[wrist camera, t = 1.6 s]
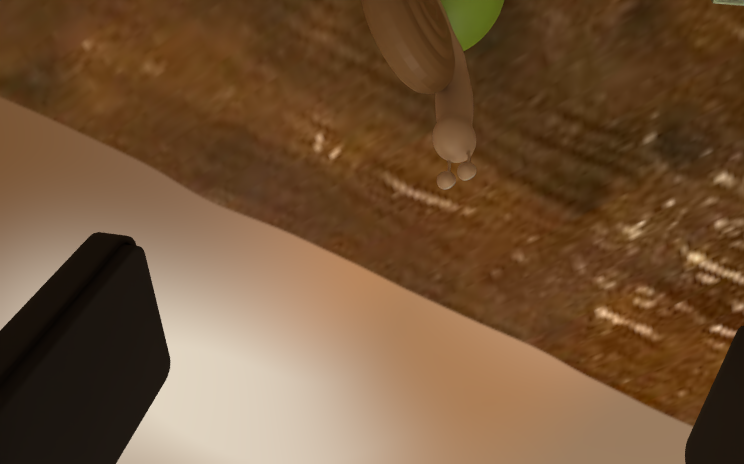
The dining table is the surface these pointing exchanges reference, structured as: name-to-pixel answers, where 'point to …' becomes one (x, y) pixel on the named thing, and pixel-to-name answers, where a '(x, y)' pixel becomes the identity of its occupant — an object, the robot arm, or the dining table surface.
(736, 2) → the book
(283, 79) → the dining table surface
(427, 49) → the snail figurine
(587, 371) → the dining table surface
